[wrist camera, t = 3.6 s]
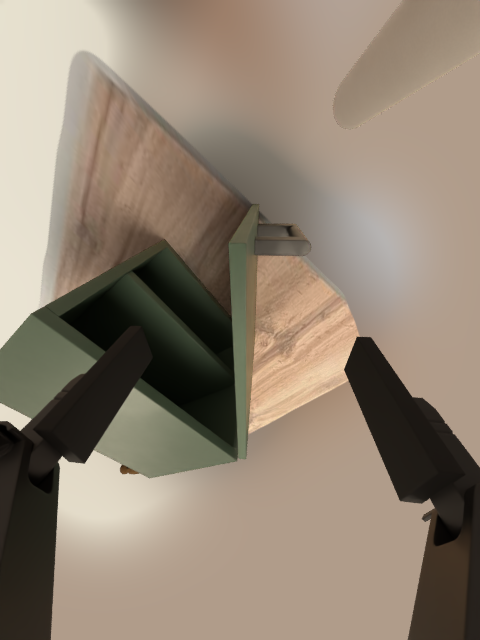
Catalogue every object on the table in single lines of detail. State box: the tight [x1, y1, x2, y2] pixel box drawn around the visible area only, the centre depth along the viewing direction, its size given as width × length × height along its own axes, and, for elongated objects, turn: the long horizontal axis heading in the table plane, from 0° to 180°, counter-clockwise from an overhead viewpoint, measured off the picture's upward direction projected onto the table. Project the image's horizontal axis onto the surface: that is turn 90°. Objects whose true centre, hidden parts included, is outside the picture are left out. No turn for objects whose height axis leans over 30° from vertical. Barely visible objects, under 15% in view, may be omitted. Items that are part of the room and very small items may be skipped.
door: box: [228, 204, 311, 459], centre depth 28 cm, size 7×26×24 cm, turn 1°
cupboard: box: [0, 239, 238, 478], centre depth 34 cm, size 18×26×24 cm
